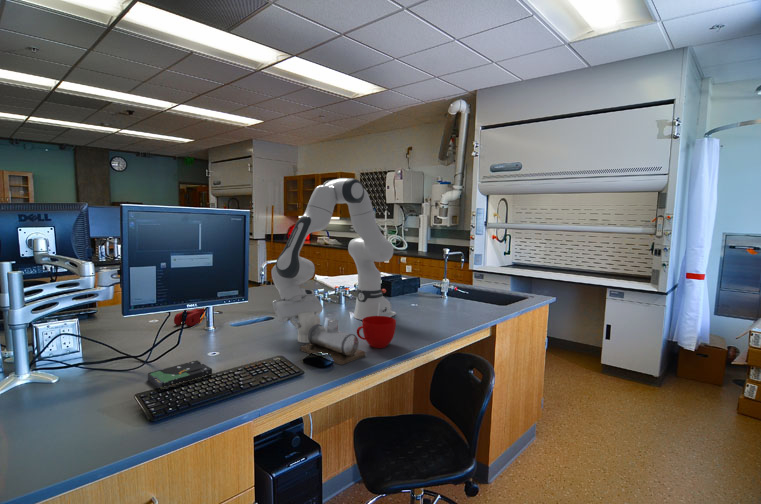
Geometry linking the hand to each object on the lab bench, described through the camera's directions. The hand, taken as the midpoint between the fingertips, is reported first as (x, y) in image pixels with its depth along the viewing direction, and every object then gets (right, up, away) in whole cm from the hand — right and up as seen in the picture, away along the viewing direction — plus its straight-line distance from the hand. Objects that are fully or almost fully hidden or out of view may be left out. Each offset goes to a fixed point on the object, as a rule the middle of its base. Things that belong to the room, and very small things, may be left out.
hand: (307, 326), depth 156 cm
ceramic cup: (+27, -7, -4) cm, 28 cm away
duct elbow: (0, -6, 0) cm, 6 cm away
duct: (+11, -7, -13) cm, 19 cm away
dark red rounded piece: (-56, -3, +22) cm, 60 cm away
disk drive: (-31, -9, -37) cm, 49 cm away
